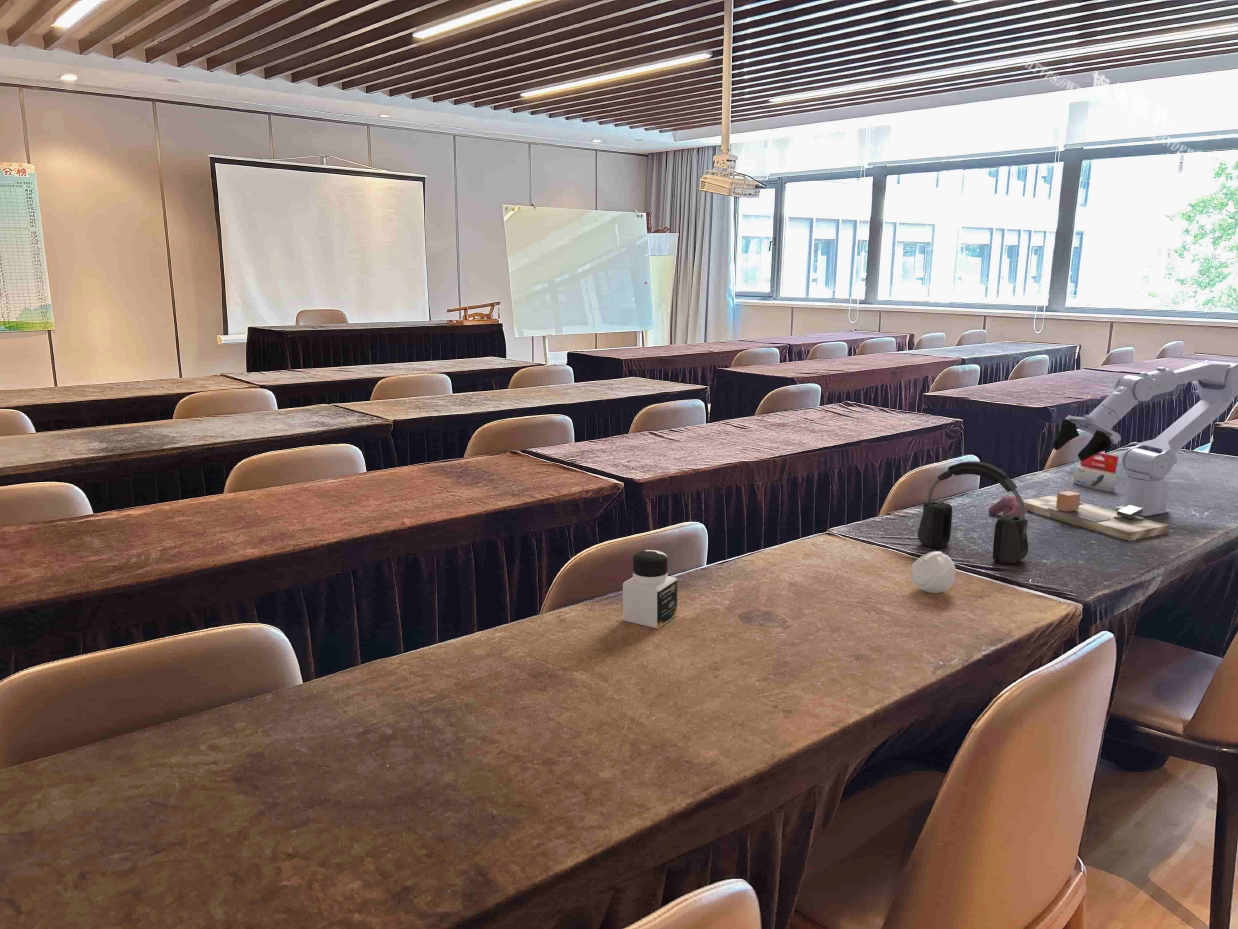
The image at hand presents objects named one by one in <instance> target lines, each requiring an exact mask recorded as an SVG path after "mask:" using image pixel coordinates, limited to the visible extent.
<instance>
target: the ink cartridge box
mask: <svg viewBox="0 0 1238 929" xmlns="http://www.w3.org/2000/svg"><path fill="white" fill-rule="evenodd" d="M1098 456H1100V457H1101V458H1103V459H1104V460H1102V459H1097V458H1095V457H1098ZM1118 461H1119V456H1116V455H1112V454H1106V453H1102V452H1100V453H1097V454H1095V455H1093V456H1091V457H1089V458H1087V459H1086V460H1084V461H1080V465H1075V466H1074V472H1073V484H1074V483H1075V484H1074V485H1078V484H1079V485H1080V486H1082V485H1083V487H1087V488H1091V487H1092V488H1091V489H1096V490H1099V491H1104V492H1107V491H1108V492H1107V493H1110V491H1111V492H1114V491H1115V488H1116V477H1117V467H1118V463H1119V462H1118Z"/></svg>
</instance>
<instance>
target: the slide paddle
mask: <svg viewBox="0 0 1238 929" xmlns="http://www.w3.org/2000/svg"><path fill="white" fill-rule="evenodd" d="M1056 496H1057V504H1056V509H1059V510H1062V511H1066V512H1068V511H1074V510H1079V502H1081V501H1080V500H1081V493H1079V492H1075V491H1071V490H1068V491H1061V492H1057V495H1056Z"/></svg>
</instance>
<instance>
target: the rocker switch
mask: <svg viewBox="0 0 1238 929" xmlns="http://www.w3.org/2000/svg"><path fill="white" fill-rule="evenodd" d="M1116 511H1117V515H1118V516H1122V517H1126V518H1129V519H1130V518H1133V517H1135V516H1140V515H1139V514H1141V513H1143V508H1139V507H1135V506H1131V505H1129V506H1127V507H1125V508H1122V509H1120V510H1118V509H1117V510H1116Z"/></svg>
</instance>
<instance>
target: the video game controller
mask: <svg viewBox="0 0 1238 929" xmlns="http://www.w3.org/2000/svg"><path fill="white" fill-rule="evenodd" d="M1023 500H1024V499H1022V501H1023ZM1023 503H1024V508H1025V515H1026V514H1027V512H1028V511H1027V505H1026V504H1025V502H1024V501H1023ZM987 512H988V514H989V515H991V516H993V515H998V514H1000V513H1002V517H1003V516H1005V515H1015V516H1018V517H1020V516H1021V514H1020V506H1019V503H1018V501H1017V499H1016V497H1015V495H1009V494H1006V495H1005V496H1003V497H1002V498H1000V499H999V500H998V501H996V502H994V503H993V504H992V505H991V506H990V507H989V508H988V511H987Z"/></svg>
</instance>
